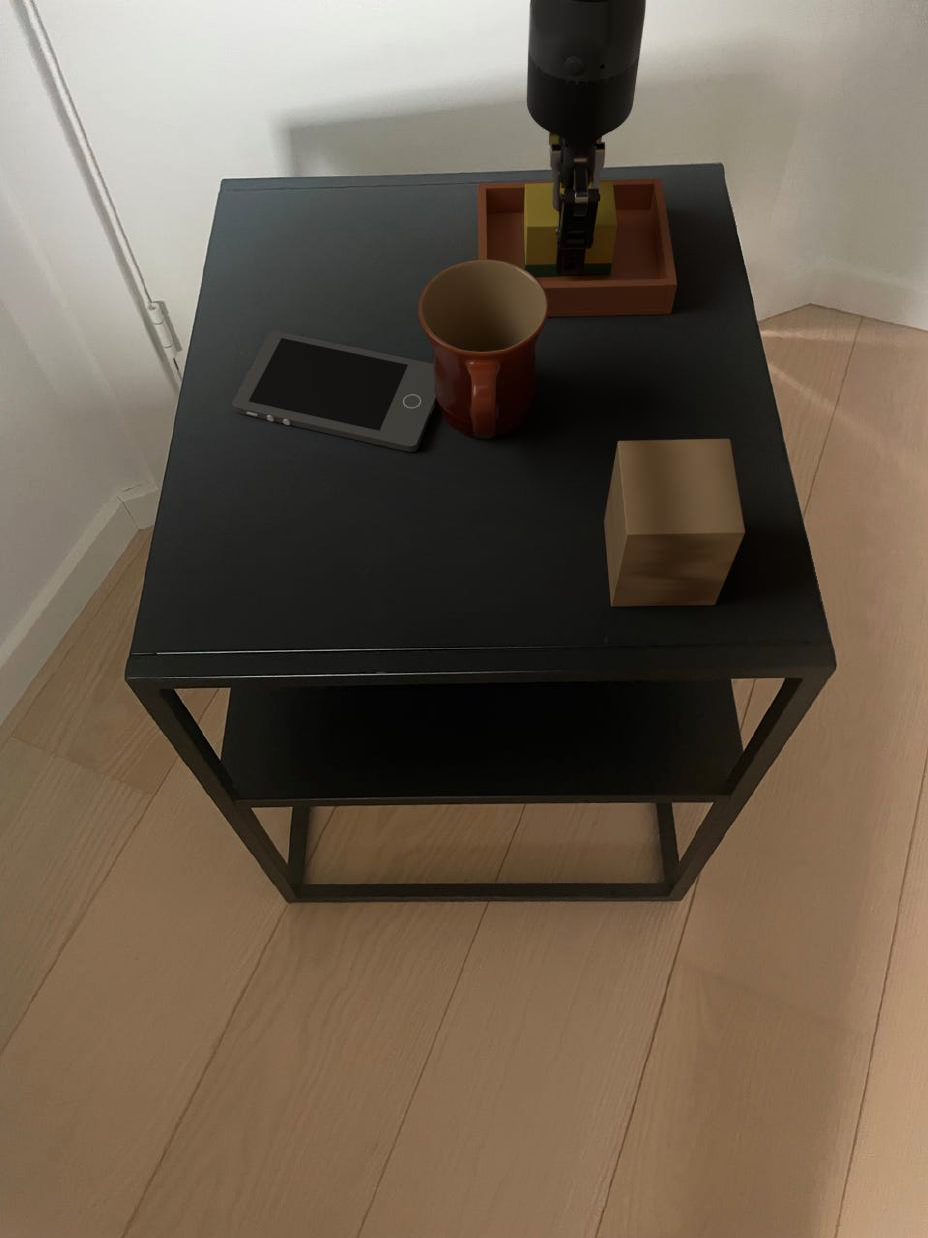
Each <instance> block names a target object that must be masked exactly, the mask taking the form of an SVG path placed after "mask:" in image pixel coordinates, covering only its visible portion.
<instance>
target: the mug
mask: <svg viewBox="0 0 928 1238" xmlns="http://www.w3.org/2000/svg"><path fill="white" fill-rule="evenodd" d="M417 311H418V318H419V321H420V325H421V326H422V328H423V330H424V333H425V334H426V336H427V337H428V340H429V342H430V345H431V348H432V353H433V354H432V357H433V360H432V361H433V362H432V364H433V365H434V381H435V383H434V390H435V395H436V398H437V403H438V406H439V409H440V412H441V415H442V416H443V418H444V419H445V421H446V422H447V423H448V425H450V426H451V427H452V428H454V430H456V431H458V432H459V433H462V434H463V435H465V436H469V437H473V438H476V439H480V440H489V439H493V438H495V437H500V436H501V437H502V436H504V435H506V434H508V433H509V432H512V431H513V430H514V429H516V428H517V427H519V426H520V425H521V424H522V423H523V422H524V420H525V419H526V418H527V416H528V414H529V412H530V409H531V406H532V404H533V400H534V397H535V393H536V385H537V383H536V367H537V366H536V365H537V364H536V346H537V341H538V339H539V338H540V335H541V333H542V331H543V328H544V326H545V324H546V323H547V319H548V317H547V316H548V311H549V303H548V298H547V294H546V292H545V290H544V288H543V286H542V285H541V283H540V282H539V281H538V280H537V279H536V278H535V277H534V276H533V275H532V274H531V273H529V272H528V271H526V270H525V269H523V268H521V267H519V266H517V265H514V264H511V263H508V262H504V261H499V260H491V259H479V258H478V259H472V260H465V261H462V262H458V263H456V264H453V265H451V266H448V267H446V268H445V269H442V270H441V271H440V272H438V273H436V275H435V276H433V277H432V278H431V279H430V280H429V281H428V282H427V284H426V285H425V286H424V288H423V290H422V292H421V294H420V296H419V300H418V309H417Z"/></svg>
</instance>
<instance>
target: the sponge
mask: <svg viewBox="0 0 928 1238" xmlns="http://www.w3.org/2000/svg"><path fill="white" fill-rule="evenodd" d="M590 188H591V182H590V185H589V186H588V189H590ZM563 192H564V188H561V183H560V193H562V194H563ZM599 194H600V201H599V203H598V210H597V216H596V222H595V229H594V235H593V237H594V242H593V244H592V247H591V249H586V252H585V262H584V271H583V273H581V274H579V275H559V274H557V272H556V257H557V235H556V228H557V227H558V211H557V210H555V209H554V208H553V203H552V183H534V184H525V200H524V234H523V235H524V265H525V270H526V271H528V272H529V273H531V274H532V275H533V276H534V277H537V276H585V275H610V274H611V267H612V259H613V251H614V244H615V236H616V229H617V220H616V210H615V200H614V190H613V182H600V186H599Z"/></svg>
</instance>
